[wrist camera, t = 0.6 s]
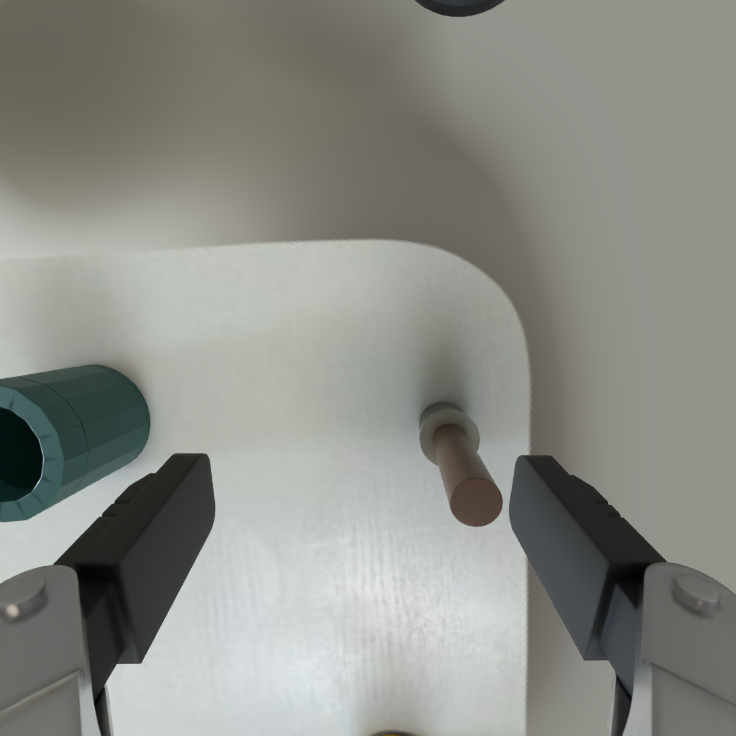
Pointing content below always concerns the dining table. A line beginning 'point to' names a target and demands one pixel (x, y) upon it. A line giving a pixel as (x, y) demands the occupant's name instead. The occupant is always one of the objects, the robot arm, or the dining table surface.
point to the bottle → (391, 735)
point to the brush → (460, 463)
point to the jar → (65, 434)
